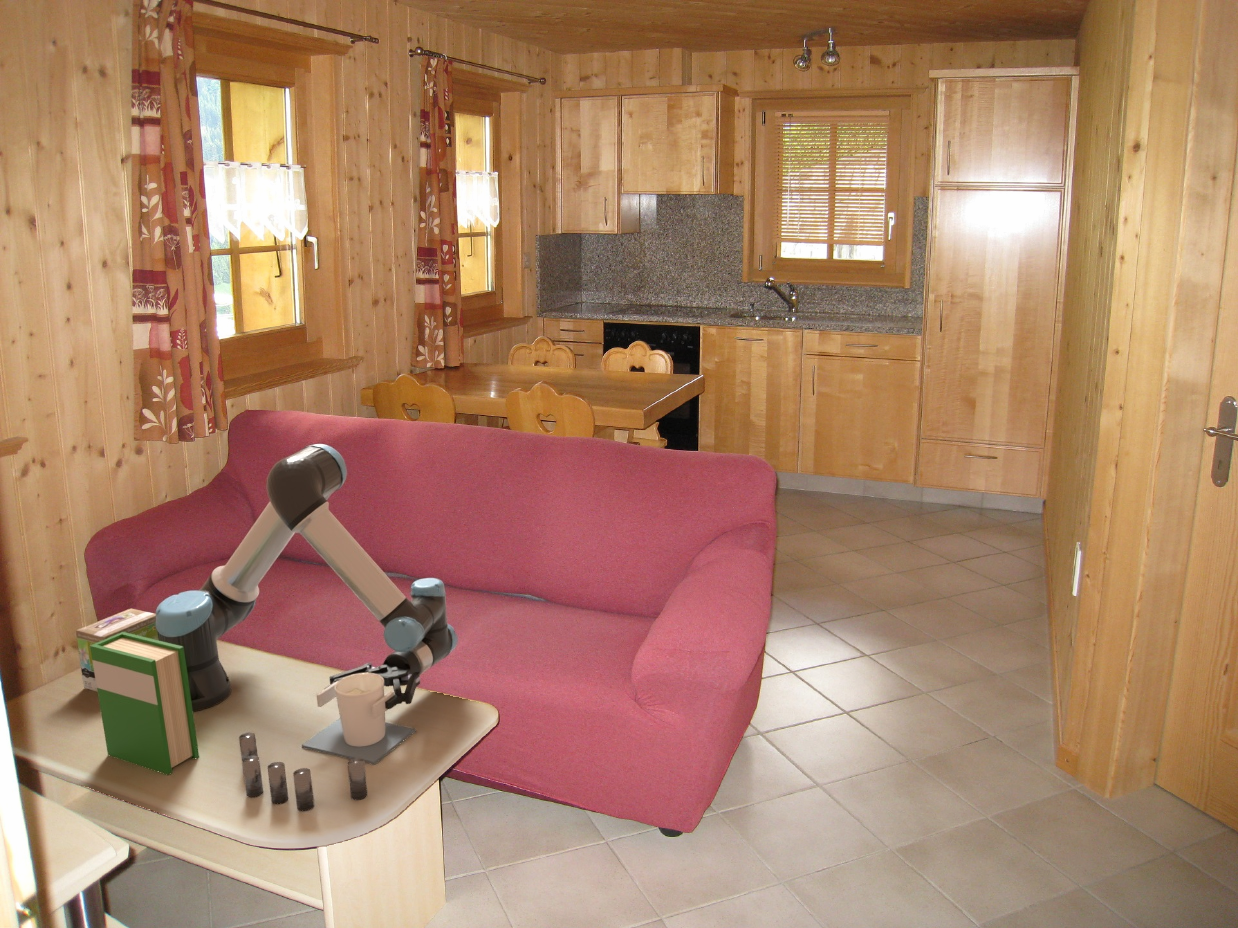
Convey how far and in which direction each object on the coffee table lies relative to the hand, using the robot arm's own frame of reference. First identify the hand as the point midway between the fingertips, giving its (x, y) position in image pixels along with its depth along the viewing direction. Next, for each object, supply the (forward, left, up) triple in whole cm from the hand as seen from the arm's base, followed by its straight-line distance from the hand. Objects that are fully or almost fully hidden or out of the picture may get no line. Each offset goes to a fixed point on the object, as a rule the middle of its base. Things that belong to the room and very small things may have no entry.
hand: (345, 706), depth 202 cm
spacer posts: (0, -17, -9) cm, 19 cm away
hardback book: (-35, -17, -9) cm, 40 cm away
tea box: (-70, +6, -9) cm, 71 cm away
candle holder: (+1, +4, -9) cm, 9 cm away
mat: (0, +3, -9) cm, 10 cm away
